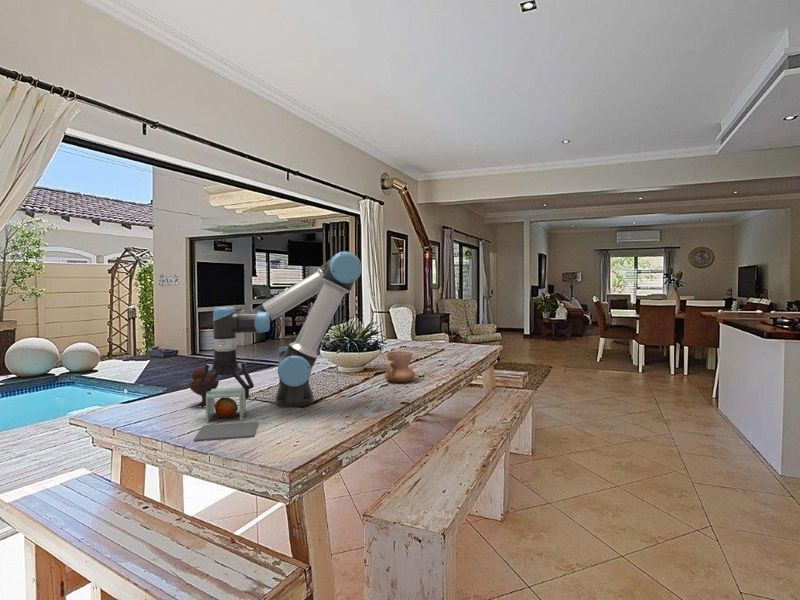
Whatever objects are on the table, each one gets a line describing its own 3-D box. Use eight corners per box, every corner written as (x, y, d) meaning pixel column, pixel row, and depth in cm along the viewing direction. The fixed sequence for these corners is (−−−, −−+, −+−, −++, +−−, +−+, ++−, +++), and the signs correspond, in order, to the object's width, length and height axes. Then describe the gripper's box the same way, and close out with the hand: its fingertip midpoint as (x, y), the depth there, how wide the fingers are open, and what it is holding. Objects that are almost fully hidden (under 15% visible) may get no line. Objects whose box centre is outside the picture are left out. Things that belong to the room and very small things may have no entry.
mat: (258, 423, 162) (258, 421, 162) (254, 437, 149) (254, 435, 149) (202, 427, 159) (202, 425, 158) (193, 441, 145) (193, 439, 145)
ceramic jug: (400, 376, 238) (399, 348, 237) (422, 379, 229) (421, 351, 228) (375, 383, 225) (374, 353, 224) (398, 387, 215) (397, 356, 214)
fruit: (213, 410, 174) (224, 391, 174) (232, 420, 175) (243, 402, 175) (206, 416, 166) (217, 397, 166) (226, 427, 167) (237, 408, 167)
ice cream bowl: (209, 409, 180) (208, 371, 179) (183, 408, 182) (182, 370, 181) (224, 402, 190) (223, 365, 189) (200, 401, 192) (199, 364, 191)
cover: (245, 410, 178) (245, 387, 177) (241, 420, 166) (241, 394, 165) (212, 412, 175) (212, 388, 175) (206, 422, 163) (205, 396, 163)
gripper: (187, 352, 163) (188, 413, 164) (258, 349, 168) (260, 409, 169) (191, 349, 170) (193, 408, 172) (260, 346, 175) (261, 403, 177)
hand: (226, 408), depth 170 cm, fingers closed on cover, 12 cm apart
